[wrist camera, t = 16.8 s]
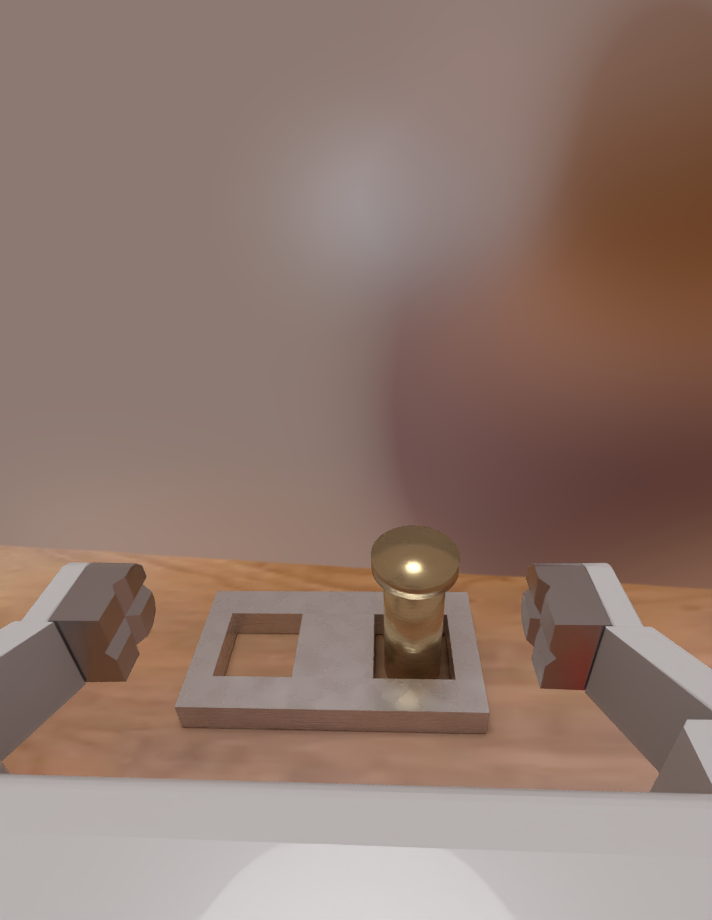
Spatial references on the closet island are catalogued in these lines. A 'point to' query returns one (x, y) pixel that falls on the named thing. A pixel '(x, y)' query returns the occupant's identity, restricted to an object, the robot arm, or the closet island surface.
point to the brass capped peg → (414, 597)
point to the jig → (329, 669)
